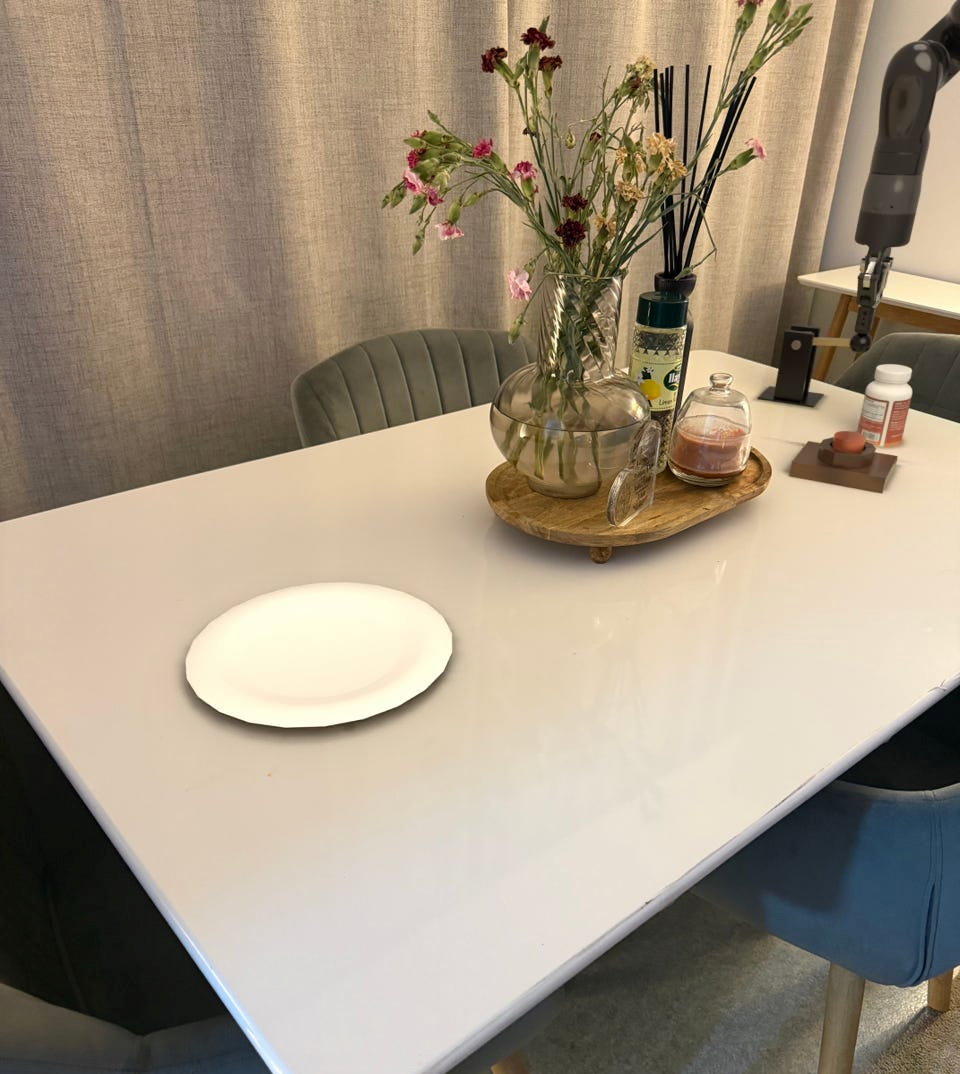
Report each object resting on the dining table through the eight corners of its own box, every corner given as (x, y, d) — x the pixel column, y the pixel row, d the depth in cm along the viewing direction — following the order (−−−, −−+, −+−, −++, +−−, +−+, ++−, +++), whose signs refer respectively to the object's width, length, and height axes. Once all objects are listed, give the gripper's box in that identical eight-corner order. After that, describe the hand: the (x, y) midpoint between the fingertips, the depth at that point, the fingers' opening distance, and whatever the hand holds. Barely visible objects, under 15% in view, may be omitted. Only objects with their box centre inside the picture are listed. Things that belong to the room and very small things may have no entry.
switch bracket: (822, 401, 151) (837, 327, 145) (812, 413, 146) (826, 337, 140) (768, 393, 155) (779, 321, 149) (756, 404, 150) (768, 330, 144)
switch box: (894, 471, 126) (901, 443, 123) (882, 494, 119) (889, 465, 117) (805, 455, 131) (810, 428, 129) (788, 476, 124) (794, 448, 122)
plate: (385, 768, 74) (384, 751, 73) (130, 706, 81) (125, 690, 80) (490, 617, 94) (489, 603, 93) (276, 578, 101) (274, 565, 100)
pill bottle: (895, 438, 136) (913, 363, 130) (903, 453, 131) (922, 375, 125) (851, 435, 137) (867, 361, 131) (858, 450, 132) (874, 373, 126)
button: (865, 446, 124) (868, 433, 123) (859, 456, 121) (862, 443, 120) (835, 441, 125) (837, 429, 124) (828, 450, 122) (831, 438, 121)
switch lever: (872, 351, 142) (875, 330, 140) (868, 356, 140) (871, 335, 138) (793, 348, 148) (795, 327, 146) (788, 353, 145) (789, 332, 144)
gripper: (908, 215, 124) (880, 345, 134) (923, 203, 134) (895, 325, 143) (851, 212, 128) (827, 339, 137) (870, 200, 137) (846, 320, 146)
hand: (862, 332), depth 140 cm, fingers closed
